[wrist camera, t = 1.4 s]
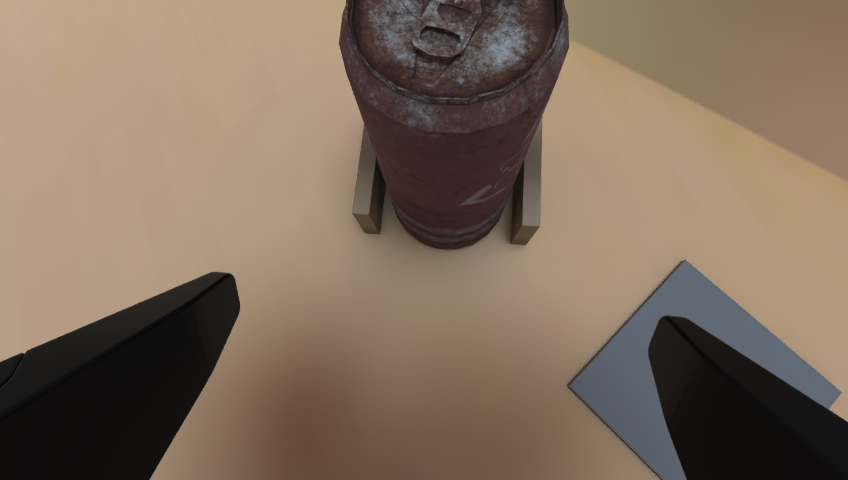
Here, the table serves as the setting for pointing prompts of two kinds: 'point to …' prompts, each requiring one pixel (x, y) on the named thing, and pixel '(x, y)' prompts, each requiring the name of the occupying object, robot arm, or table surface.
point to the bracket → (524, 191)
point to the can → (452, 102)
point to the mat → (633, 379)
